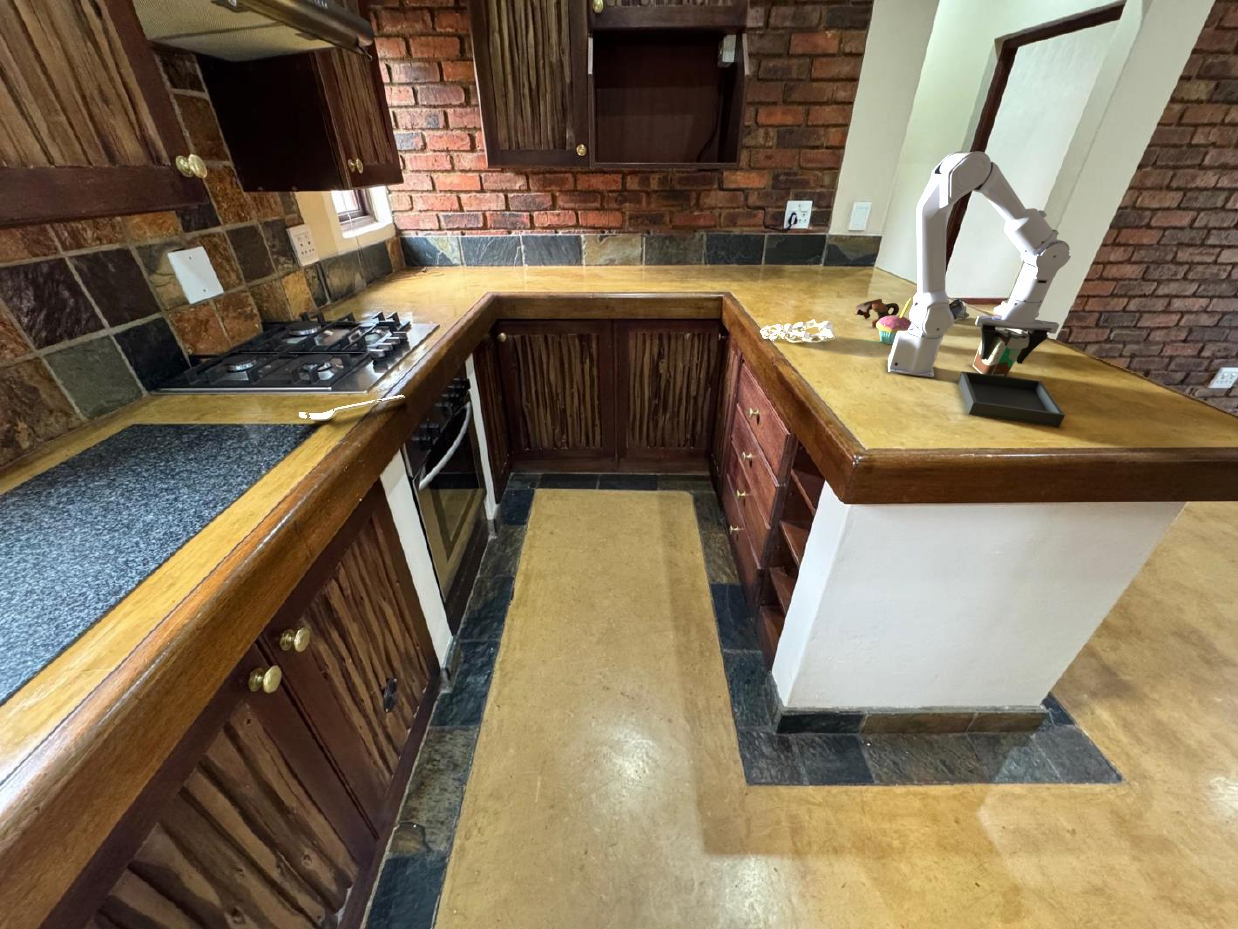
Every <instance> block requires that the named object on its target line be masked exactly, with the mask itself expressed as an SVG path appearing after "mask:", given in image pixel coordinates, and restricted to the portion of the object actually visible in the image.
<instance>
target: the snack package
mask: <svg viewBox="0 0 1238 929" xmlns="http://www.w3.org/2000/svg"><path fill="white" fill-rule="evenodd" d="M949 308H950V311H951V312H952V314H953V316H954V321H955V320H957V319H967V318H968V317H970V313H968V312H967V306H966V304H965V302H964V301H962V300H960V299H958V298H956V299H954V300H953V301H949Z"/></svg>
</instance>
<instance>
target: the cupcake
mask: <svg viewBox="0 0 1238 929" xmlns="http://www.w3.org/2000/svg"><path fill="white" fill-rule="evenodd" d="M911 300H912V297H910V298H909V300H907V301H906V304H905V306H904V308H903V309H902V312H901V314H900V315H899V314H897V315H896V316H895V315H893V316H892V315H891V316H885V317H883V318H881V319H880V320H878V322H877V324H876V328H877V330H878V331H879V341H880V343H882V344H885V345H892V346H893V344H894V340H895V337H896V334H897V332H898V331H908V329H909V327H910V326H911V324H912V322H911V320H910V319H909V318H906V317H905V316H904V315H905V314H906V312H907V310H908V308H909V306H910V304H911Z"/></svg>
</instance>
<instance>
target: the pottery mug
mask: <svg viewBox="0 0 1238 929" xmlns="http://www.w3.org/2000/svg"><path fill="white" fill-rule="evenodd" d="M854 307H855V311H854V315H855V316H862V318H864V320H867V319H869V318H871V314H870V313H871V311H873V312H874V313H876V314H877V318H875V319H873V320H872V319H871V321H870V323H871V328H872V329H875V328H877V327H876V324H877V322H878V320H880V319H881V318H883V317H885V316H891V315H892V316H893V315H895V316H896V315H898V314H899V312H900V306H899V304H898V303H897V302H890V303H884V302H883V299H882V298H877V299H871V300H868V301H865V302H862V303H859V304H857V305H856V306H854ZM891 309H893V310H892V312H891V313H889V311H890V310H891Z"/></svg>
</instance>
